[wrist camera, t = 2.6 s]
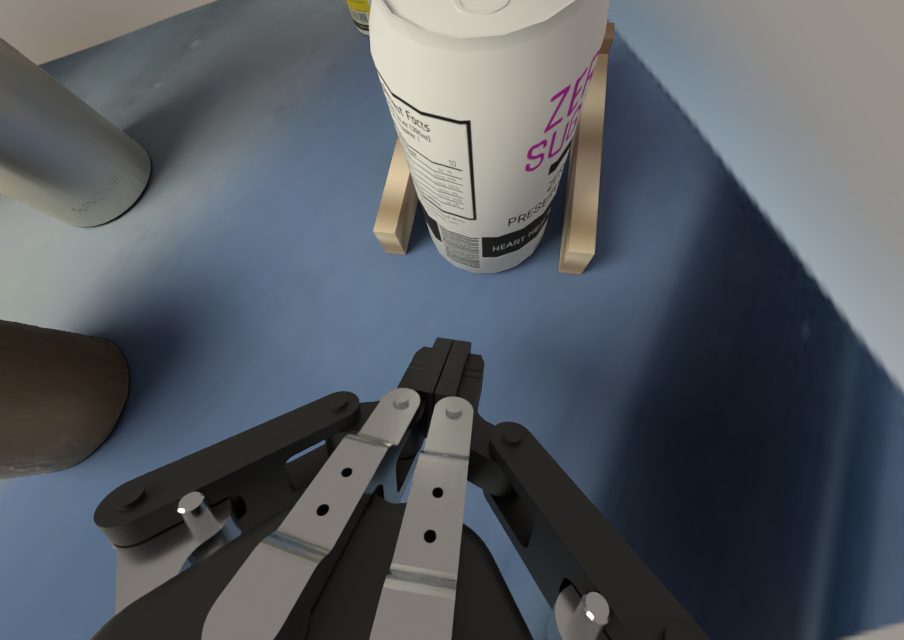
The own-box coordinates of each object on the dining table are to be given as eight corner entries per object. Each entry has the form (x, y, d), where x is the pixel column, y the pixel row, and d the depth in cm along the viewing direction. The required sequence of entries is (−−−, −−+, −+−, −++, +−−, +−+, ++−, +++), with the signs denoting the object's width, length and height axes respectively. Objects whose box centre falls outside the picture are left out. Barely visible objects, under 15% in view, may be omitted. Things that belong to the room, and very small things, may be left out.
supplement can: (434, 181, 26) (366, -111, 11) (542, 178, 25) (616, -146, 10) (427, 277, 24) (332, 64, 9) (545, 277, 23) (644, 40, 8)
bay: (580, 274, 22) (600, 245, 18) (386, 252, 24) (367, 222, 21) (596, 78, 27) (614, 22, 23) (430, 74, 29) (421, 22, 25)
